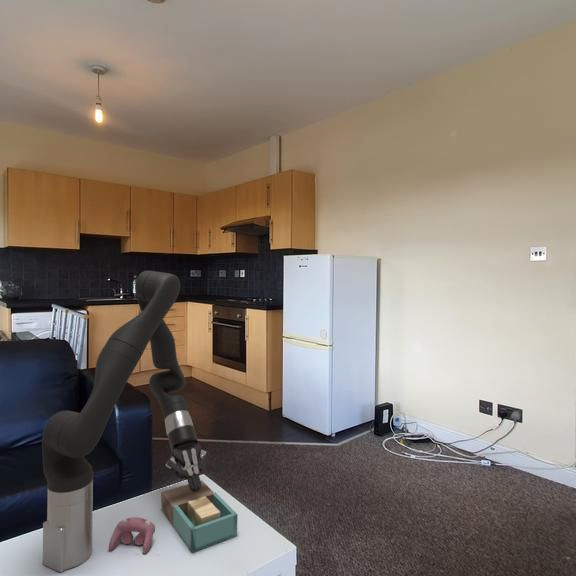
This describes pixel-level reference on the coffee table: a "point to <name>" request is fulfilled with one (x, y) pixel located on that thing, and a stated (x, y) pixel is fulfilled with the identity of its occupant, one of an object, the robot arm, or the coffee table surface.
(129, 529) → the pink arched piece
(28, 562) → the coffee table surface
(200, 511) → the maple block
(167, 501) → the brown wooden block
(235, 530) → the bin
